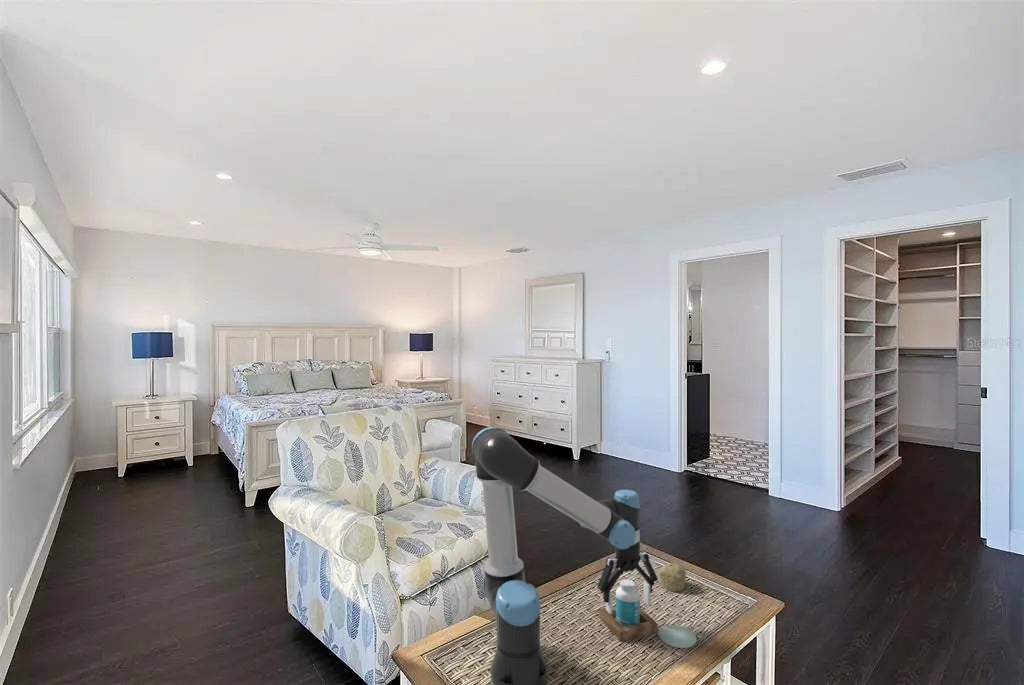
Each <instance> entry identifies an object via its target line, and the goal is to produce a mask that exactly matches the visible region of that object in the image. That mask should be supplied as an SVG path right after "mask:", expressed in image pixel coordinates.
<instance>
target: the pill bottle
mask: <svg viewBox="0 0 1024 685" xmlns="http://www.w3.org/2000/svg"><path fill="white" fill-rule="evenodd" d="M640 601H641V594H640V592H639V590H638V589H637V588H636V582H635V581H633V580H631V579H621V580H620V582H619V587H617V588H616V590H615V606H616V618H615V620H616V621H617V622H618V623H619V624H620V625H621V626H622V627H626V626H630V625H635V624H640V608H641V607H640V606H641V602H640Z"/></svg>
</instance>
